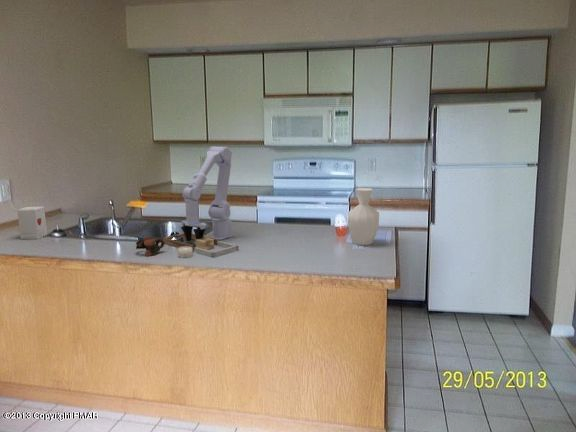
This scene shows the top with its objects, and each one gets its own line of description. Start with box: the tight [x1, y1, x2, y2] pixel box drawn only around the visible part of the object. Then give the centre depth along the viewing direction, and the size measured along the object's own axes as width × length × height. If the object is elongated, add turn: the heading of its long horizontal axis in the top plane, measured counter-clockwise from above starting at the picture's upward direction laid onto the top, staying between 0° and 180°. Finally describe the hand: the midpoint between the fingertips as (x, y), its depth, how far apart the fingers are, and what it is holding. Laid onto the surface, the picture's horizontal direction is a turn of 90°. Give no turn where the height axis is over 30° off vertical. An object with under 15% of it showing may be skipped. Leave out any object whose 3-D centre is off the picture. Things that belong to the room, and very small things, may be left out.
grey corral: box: [194, 240, 239, 258], centre depth 199 cm, size 14×12×2 cm
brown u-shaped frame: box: [161, 232, 218, 252], centre depth 212 cm, size 14×23×2 cm, turn 49°
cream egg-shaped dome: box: [177, 246, 194, 259], centre depth 193 cm, size 6×6×4 cm
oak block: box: [194, 236, 215, 250], centre depth 204 cm, size 6×6×4 cm
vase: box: [347, 187, 380, 246], centre depth 207 cm, size 14×14×25 cm
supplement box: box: [16, 205, 48, 240], centre depth 227 cm, size 9×9×15 cm
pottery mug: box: [135, 236, 166, 258], centre depth 198 cm, size 12×10×8 cm
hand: (194, 242), depth 209 cm, fingers open, 7 cm apart
